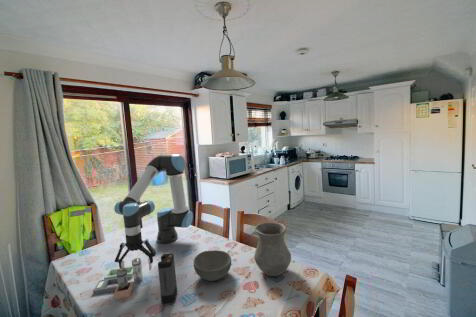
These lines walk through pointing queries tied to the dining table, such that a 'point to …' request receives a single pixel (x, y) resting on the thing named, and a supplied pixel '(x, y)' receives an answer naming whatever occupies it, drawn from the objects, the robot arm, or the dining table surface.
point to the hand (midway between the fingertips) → (137, 271)
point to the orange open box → (124, 292)
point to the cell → (137, 270)
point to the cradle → (105, 286)
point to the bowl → (212, 264)
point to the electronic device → (167, 279)
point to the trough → (113, 274)
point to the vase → (272, 249)
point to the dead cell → (122, 279)
